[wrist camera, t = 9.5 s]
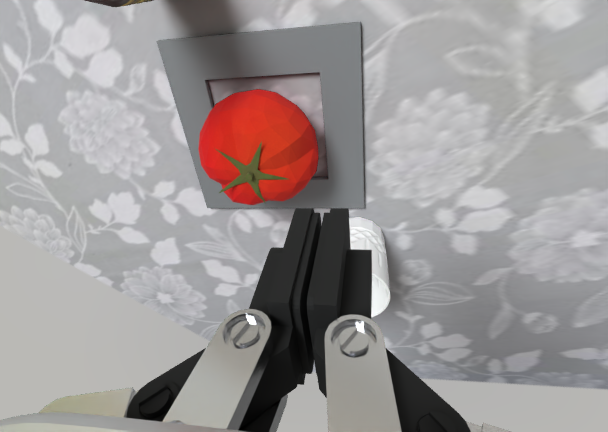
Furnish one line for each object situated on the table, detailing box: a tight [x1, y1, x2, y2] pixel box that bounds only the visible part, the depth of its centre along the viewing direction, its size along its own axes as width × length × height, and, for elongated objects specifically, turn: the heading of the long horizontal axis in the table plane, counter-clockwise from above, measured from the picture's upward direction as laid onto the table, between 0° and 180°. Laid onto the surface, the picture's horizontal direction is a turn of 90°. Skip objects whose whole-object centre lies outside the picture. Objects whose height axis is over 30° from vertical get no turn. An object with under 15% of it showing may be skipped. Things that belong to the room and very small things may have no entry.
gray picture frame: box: [157, 22, 364, 208], centre depth 42 cm, size 20×20×1 cm
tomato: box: [198, 89, 318, 205], centre depth 38 cm, size 12×12×10 cm
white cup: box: [349, 217, 390, 318], centre depth 45 cm, size 8×8×10 cm
